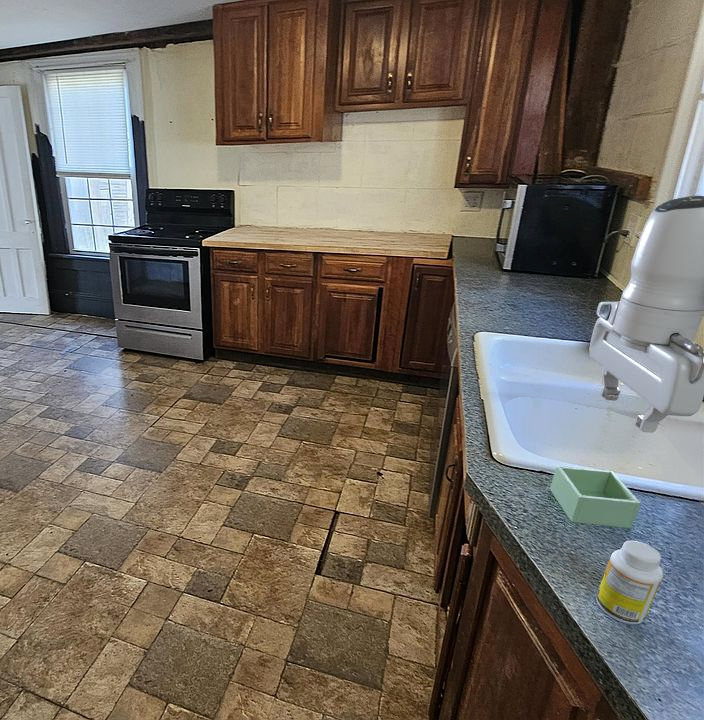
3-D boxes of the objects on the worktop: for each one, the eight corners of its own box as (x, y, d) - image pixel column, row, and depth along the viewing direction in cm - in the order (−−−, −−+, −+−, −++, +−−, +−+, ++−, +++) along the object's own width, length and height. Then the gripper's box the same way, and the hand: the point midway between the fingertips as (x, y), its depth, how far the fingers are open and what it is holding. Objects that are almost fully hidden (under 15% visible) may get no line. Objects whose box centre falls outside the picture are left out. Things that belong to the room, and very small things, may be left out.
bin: (604, 494, 95) (612, 470, 93) (631, 528, 87) (641, 503, 85) (549, 489, 97) (556, 465, 95) (571, 522, 88) (579, 497, 86)
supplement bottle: (619, 591, 75) (642, 533, 71) (655, 623, 70) (681, 563, 66) (584, 595, 74) (605, 538, 70) (618, 629, 69) (642, 569, 65)
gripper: (740, 352, 61) (698, 454, 66) (638, 301, 79) (612, 384, 85) (679, 349, 61) (643, 450, 67) (592, 300, 80) (570, 382, 86)
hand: (625, 413), depth 76 cm, fingers open, 8 cm apart
